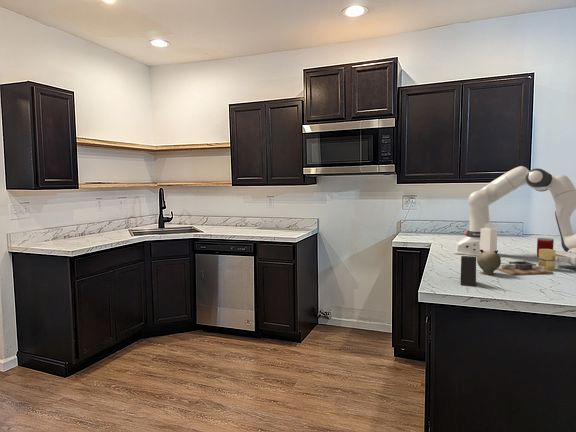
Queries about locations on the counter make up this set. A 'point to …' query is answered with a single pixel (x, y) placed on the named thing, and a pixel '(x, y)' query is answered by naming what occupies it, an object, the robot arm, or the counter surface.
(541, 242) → the canned food
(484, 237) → the milk
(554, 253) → the coupler
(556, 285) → the counter surface
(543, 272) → the coupling board
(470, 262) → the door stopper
